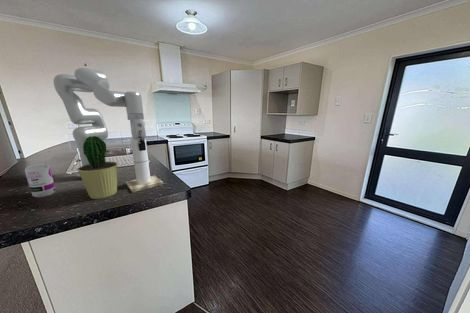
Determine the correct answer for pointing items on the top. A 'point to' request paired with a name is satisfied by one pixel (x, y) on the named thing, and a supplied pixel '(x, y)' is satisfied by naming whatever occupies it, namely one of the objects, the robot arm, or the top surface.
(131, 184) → the birch board
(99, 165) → the potted cactus
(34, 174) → the supplement can
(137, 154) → the cylindrical container
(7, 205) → the top surface
